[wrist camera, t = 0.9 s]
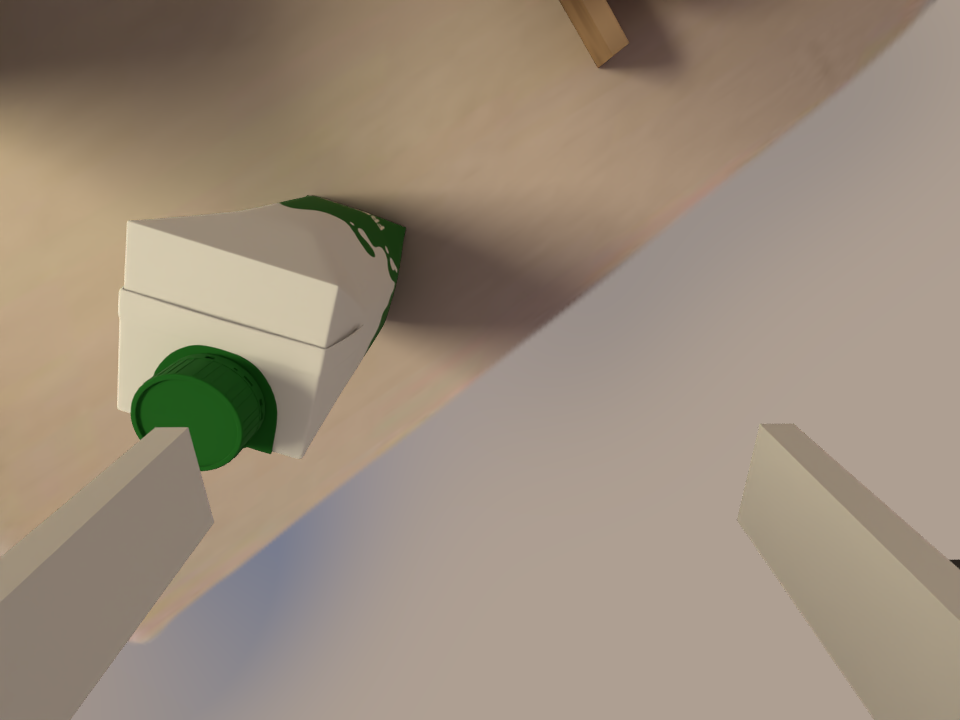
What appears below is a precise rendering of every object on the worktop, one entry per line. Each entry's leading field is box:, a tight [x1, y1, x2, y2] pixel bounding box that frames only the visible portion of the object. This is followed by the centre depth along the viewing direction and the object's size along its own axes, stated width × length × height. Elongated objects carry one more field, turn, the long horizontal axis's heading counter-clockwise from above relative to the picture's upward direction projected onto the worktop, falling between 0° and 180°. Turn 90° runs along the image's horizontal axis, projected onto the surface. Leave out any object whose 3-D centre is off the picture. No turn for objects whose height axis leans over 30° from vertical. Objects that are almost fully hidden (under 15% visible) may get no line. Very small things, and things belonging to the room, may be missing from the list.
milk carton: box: [117, 195, 406, 471], centre depth 26 cm, size 9×9×20 cm
